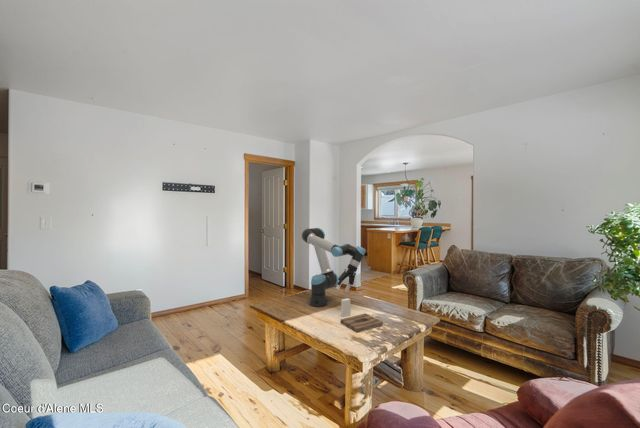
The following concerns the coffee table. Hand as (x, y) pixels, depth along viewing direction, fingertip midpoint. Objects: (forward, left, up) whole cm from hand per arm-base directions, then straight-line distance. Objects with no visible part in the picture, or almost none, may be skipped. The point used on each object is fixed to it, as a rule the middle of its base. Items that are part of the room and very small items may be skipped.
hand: (341, 290), depth 224 cm
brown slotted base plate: (+29, -4, -15) cm, 33 cm away
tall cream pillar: (+11, -4, -15) cm, 20 cm away
